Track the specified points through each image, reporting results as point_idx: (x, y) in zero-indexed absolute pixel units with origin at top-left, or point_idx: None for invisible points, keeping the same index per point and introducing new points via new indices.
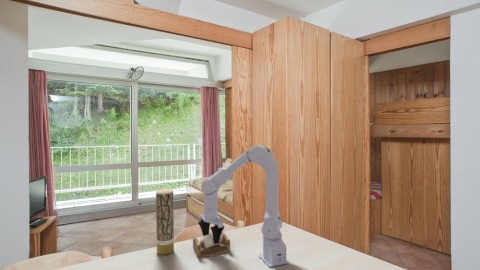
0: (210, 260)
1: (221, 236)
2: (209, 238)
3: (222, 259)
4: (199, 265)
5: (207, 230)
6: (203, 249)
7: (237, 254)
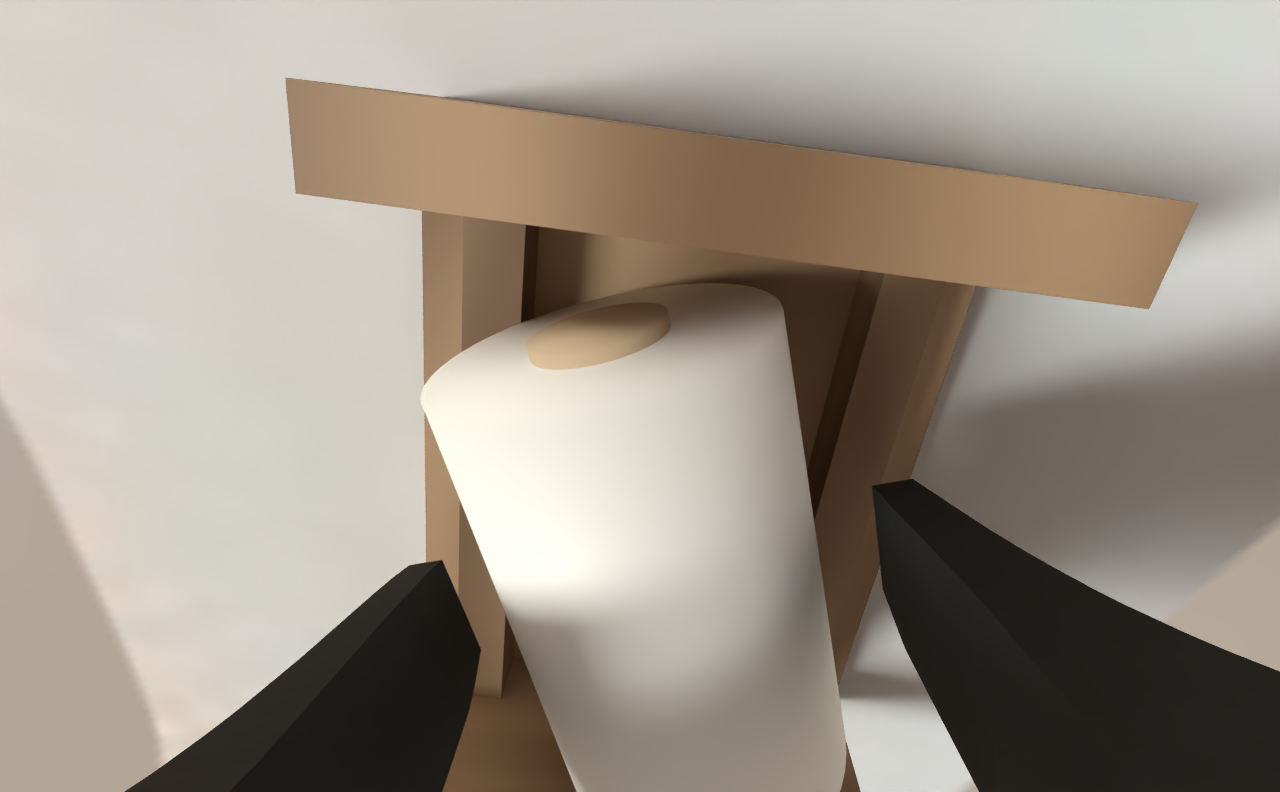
0: None
1: (777, 367)
2: (808, 745)
3: (1123, 431)
4: None
5: (360, 728)
6: None
7: (1192, 63)
